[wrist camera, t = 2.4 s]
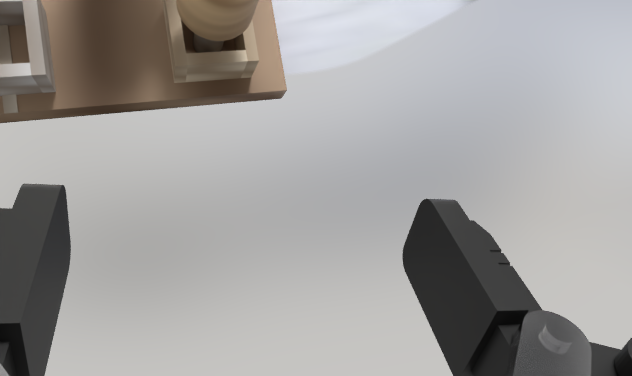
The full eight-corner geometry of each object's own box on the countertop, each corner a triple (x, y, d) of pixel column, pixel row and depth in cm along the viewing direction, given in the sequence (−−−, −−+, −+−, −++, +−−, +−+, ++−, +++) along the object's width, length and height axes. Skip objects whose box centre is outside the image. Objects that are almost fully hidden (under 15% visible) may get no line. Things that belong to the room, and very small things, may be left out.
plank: (262, -13, 32) (275, -51, 29) (281, 98, 32) (297, 74, 28) (-84, -5, 27) (-124, -50, 23) (-71, 129, 26) (-110, 104, 23)
